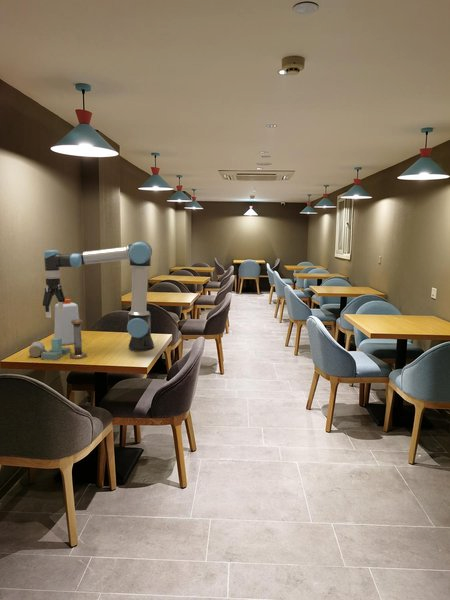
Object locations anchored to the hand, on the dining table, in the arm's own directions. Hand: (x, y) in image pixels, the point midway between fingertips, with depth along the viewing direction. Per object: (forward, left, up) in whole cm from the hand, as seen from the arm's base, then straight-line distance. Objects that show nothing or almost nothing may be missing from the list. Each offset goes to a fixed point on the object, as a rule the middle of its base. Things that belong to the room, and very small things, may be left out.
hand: (55, 315), depth 260 cm
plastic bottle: (+10, -32, -24) cm, 41 cm away
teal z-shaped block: (+1, 0, -24) cm, 24 cm away
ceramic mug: (+11, +1, -24) cm, 26 cm away
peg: (0, 0, -24) cm, 24 cm away
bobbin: (-13, 0, -24) cm, 27 cm away
